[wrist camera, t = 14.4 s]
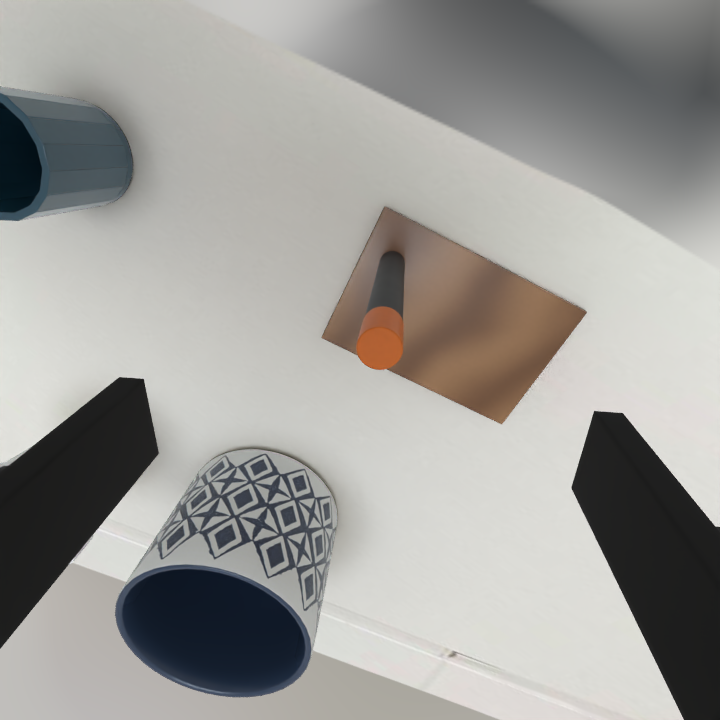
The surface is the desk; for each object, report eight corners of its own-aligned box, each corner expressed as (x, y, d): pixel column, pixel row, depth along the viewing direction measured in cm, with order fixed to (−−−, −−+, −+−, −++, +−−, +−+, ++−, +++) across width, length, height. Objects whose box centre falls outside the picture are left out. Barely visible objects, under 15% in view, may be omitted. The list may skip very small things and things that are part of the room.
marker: (379, 249, 35) (356, 325, 20) (406, 250, 35) (404, 328, 19) (378, 276, 36) (355, 368, 20) (404, 277, 36) (401, 372, 20)
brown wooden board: (322, 335, 39) (321, 337, 39) (384, 206, 34) (384, 206, 34) (500, 421, 41) (501, 424, 40) (585, 310, 36) (587, 312, 35)
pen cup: (28, 98, 33) (-95, 81, 25) (123, 100, 33) (28, 83, 25) (54, 203, 36) (-48, 218, 28) (141, 207, 36) (62, 223, 28)
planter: (269, 579, 53) (224, 718, 40) (164, 495, 49) (75, 620, 36) (369, 517, 47) (354, 656, 34) (260, 417, 43) (196, 531, 30)
